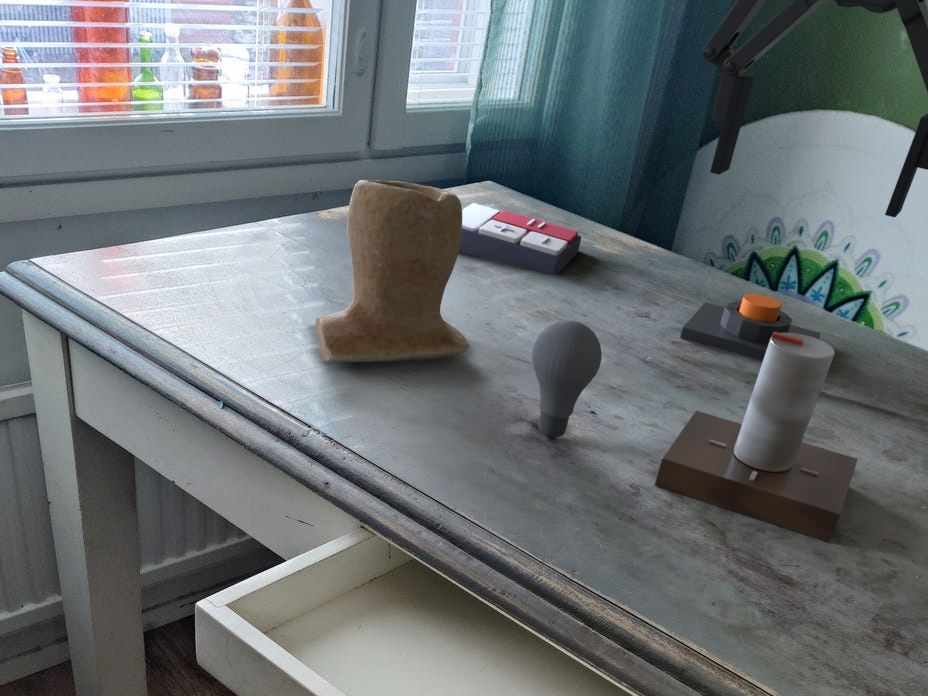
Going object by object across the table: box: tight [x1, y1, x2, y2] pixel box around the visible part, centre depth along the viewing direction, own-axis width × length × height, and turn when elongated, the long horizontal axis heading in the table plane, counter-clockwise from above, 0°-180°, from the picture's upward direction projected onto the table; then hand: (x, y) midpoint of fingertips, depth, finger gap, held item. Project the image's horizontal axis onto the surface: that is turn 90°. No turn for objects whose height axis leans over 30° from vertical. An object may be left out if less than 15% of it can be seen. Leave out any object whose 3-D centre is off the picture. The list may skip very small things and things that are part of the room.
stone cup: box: [315, 179, 470, 363], centre depth 90 cm, size 15×12×15 cm
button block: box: [679, 300, 822, 362], centre depth 105 cm, size 13×10×4 cm
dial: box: [734, 332, 836, 472], centre depth 77 cm, size 5×5×10 cm
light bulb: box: [531, 319, 603, 440], centre depth 81 cm, size 6×6×10 cm
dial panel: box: [654, 410, 858, 543], centre depth 81 cm, size 14×11×3 cm
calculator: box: [458, 203, 582, 275], centre depth 120 cm, size 11×4×15 cm
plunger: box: [739, 293, 782, 322], centre depth 103 cm, size 4×4×2 cm
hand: (803, 192), depth 76 cm, fingers open, 13 cm apart
